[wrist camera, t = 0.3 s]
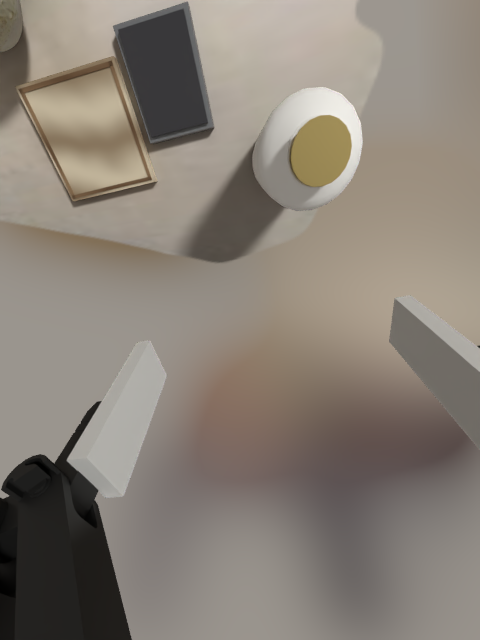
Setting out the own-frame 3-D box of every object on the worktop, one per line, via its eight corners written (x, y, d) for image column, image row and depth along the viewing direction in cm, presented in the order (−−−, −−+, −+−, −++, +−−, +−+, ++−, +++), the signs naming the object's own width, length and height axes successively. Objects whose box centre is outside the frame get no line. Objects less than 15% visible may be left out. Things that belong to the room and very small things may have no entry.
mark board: (21, 88, 29) (14, 86, 28) (117, 59, 27) (112, 55, 26) (76, 200, 35) (72, 201, 34) (157, 181, 34) (154, 181, 33)
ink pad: (117, 31, 26) (110, 24, 25) (189, 7, 25) (186, -1, 24) (153, 144, 31) (149, 143, 30) (214, 128, 30) (213, 126, 29)
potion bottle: (257, 201, 35) (268, 228, 19) (246, 128, 30) (249, 89, 15) (317, 188, 34) (379, 205, 18) (314, 110, 30) (392, 49, 14)
